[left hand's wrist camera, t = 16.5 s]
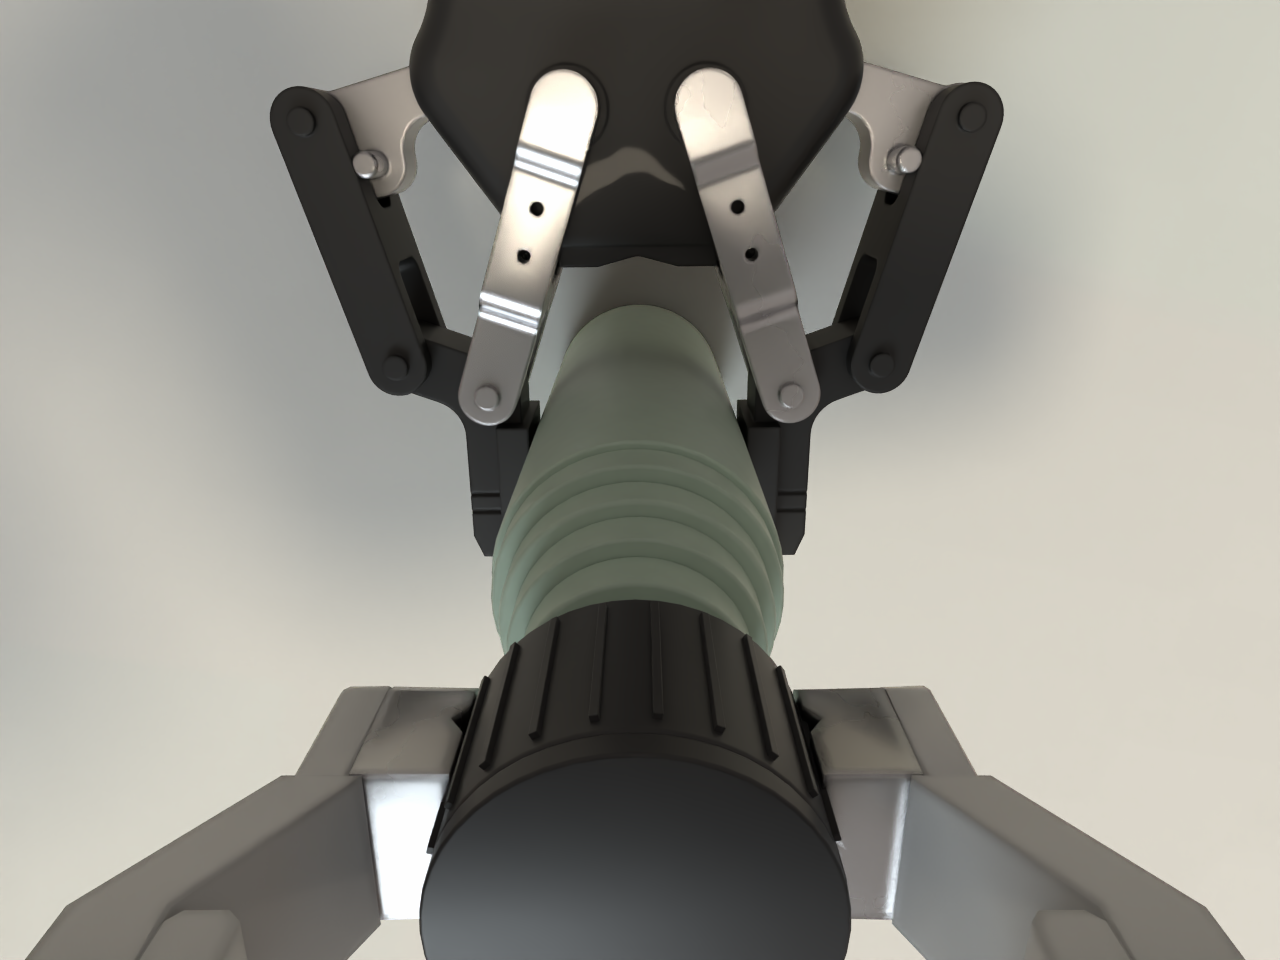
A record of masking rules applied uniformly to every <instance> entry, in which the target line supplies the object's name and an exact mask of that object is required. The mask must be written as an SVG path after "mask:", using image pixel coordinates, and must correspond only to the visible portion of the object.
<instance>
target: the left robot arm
mask: <svg viewBox="0 0 1280 960" xmlns="http://www.w3.org/2000/svg"><path fill="white" fill-rule="evenodd" d="M478 691H479V688H436V687H393V688H391V687H389V686H362V687H349V688H347V689H345V690H343V691H342V692H341V694H340V696H339V698H338V699H337V701H336V703H335V705H334V707H333V708H332V710H331V712H330V714H329V715H328V717H327V719H326V721H325V723H324V724H323V726H322V728H321V730H320V732H319V733H318V735H317V737H316V739H315V741H314V742H313V744H312V746H311V748H310V749H309V751H308V753H307V755H306V757H305V758H304V760H303V762H302V764H301V766H300V767H299V769H298V771H297V773H296V775H295V776H280V777H279V778H277V779H275V780H274V781H272V782H270V783H269V784H267V785H265V786H264V787H262V788H260V789H259V790H257V791H255V792H254V793H252V794H250V795H249V796H247V797H245V798H244V799H242V800H241V801H239V802H237V803H236V804H234V805H232V806H231V807H229V808H227V809H226V810H224V811H222V812H221V813H219V814H217V815H216V816H214V817H212V818H211V819H209V820H207V821H206V822H204V823H202V824H201V825H199V826H198V827H196V828H194V829H193V830H191V831H189V832H188V833H186V834H184V835H183V836H181V837H179V838H178V839H176V840H174V841H173V842H171V843H169V844H168V845H166V846H164V847H163V848H161V849H160V850H158V851H156V852H155V853H153V854H151V855H150V856H148V857H146V858H145V859H143V860H141V861H140V862H138V863H136V864H135V865H133V866H131V867H130V868H128V869H126V870H125V871H123V872H121V873H120V874H118V875H117V876H115V877H113V878H112V879H110V880H108V881H107V882H105V883H103V884H102V885H100V886H98V887H97V888H95V889H93V890H92V891H90V892H88V893H87V894H85V895H83V896H82V897H80V898H79V899H77V900H75V901H74V902H72V903H70V904H69V905H67V906H66V907H65V908H64V910H63V911H62V912H61V913H60V915H59V916H58V917H57V919H56V920H55V921H54V923H53V924H52V925H51V926H50V928H49V929H48V930H47V932H46V933H45V934H44V936H43V937H42V938H41V940H40V941H39V942H38V943H37V945H36V946H35V947H34V949H33V950H32V951H31V953H30V954H29V955H28V956H27V958H26V959H25V960H347V959H348V958H349V957H350V956H351V955H352V954H353V953H354V952H355V951H356V950H357V949H358V948H359V947H360V946H361V944H362V943H363V942H364V941H365V940H366V939H367V938H368V937H369V936H370V935H371V934H372V933H373V932H374V931H375V930H376V929H377V928H378V927H379V926H380V925H381V923H380V920H390V919H419V906H420V899H421V892H422V886H423V883H424V880H425V876H426V873H427V870H428V866H429V863H430V859H431V856H432V855H431V854H426V850H427V845H428V842H429V839H430V836H431V832H432V829H433V826H434V823H435V819H436V816H437V813H438V810H439V806H440V803H441V802H445V800H446V797H447V794H448V790H449V787H450V784H451V780H452V777H453V774H454V770H455V767H456V764H457V760H458V757H459V754H460V750H461V747H462V744H463V738H464V737H465V734H466V731H467V727H468V724H469V721H470V717H471V714H472V711H473V707H474V704H475V701H476V697H477V694H478ZM793 697H794V700H795V703H796V705H798V708H799V712H800V715H801V719H802V721H805V722H807V723H808V726H809V729H810V733H811V736H810V750H811V754H812V757H813V761H814V764H815V767H816V771H817V774H818V777H819V781H820V784H821V788H822V790H824V789H827V791H828V794H829V797H830V801H831V804H832V808H833V811H834V815H835V818H836V821H837V825H838V828H839V832H840V835H841V838H842V840H841V841H837V842H836V843H837V847H838V850H839V854H840V857H841V861H842V864H843V868H844V871H845V875H846V878H847V885H848V890H849V897H850V903H851V919H883V920H892V924H893V925H894V926H895V927H896V928H897V929H898V930H899V931H900V932H901V934H902V935H903V936H904V937H905V938H906V939H907V940H908V941H909V942H910V943H911V944H912V945H913V946H914V947H915V948H916V949H917V950H918V951H919V952H920V954H921V955H922V956H923V957H924V958H925V959H926V960H1245V959H1244V957H1243V956H1242V955H1241V953H1240V952H1239V951H1238V949H1237V948H1236V947H1235V945H1234V944H1233V943H1232V941H1231V940H1230V939H1229V937H1228V936H1227V935H1226V933H1225V932H1224V931H1223V929H1222V928H1221V927H1220V925H1219V924H1218V923H1217V921H1216V920H1215V919H1214V917H1213V916H1212V915H1211V913H1210V912H1209V911H1208V909H1207V908H1206V907H1205V906H1203V905H1201V904H1200V903H1198V902H1196V901H1195V900H1193V899H1192V898H1190V897H1188V896H1187V895H1185V894H1183V893H1182V892H1180V891H1178V890H1177V889H1175V888H1174V887H1172V886H1170V885H1169V884H1167V883H1165V882H1164V881H1162V880H1161V879H1159V878H1157V877H1156V876H1154V875H1152V874H1151V873H1149V872H1147V871H1146V870H1144V869H1143V868H1141V867H1139V866H1138V865H1136V864H1134V863H1133V862H1131V861H1129V860H1128V859H1126V858H1125V857H1123V856H1121V855H1120V854H1118V853H1116V852H1115V851H1113V850H1112V849H1110V848H1108V847H1107V846H1105V845H1103V844H1102V843H1100V842H1098V841H1097V840H1095V839H1094V838H1092V837H1090V836H1089V835H1087V834H1085V833H1084V832H1082V831H1080V830H1079V829H1077V828H1076V827H1074V826H1072V825H1071V824H1069V823H1067V822H1066V821H1064V820H1063V819H1061V818H1059V817H1058V816H1056V815H1054V814H1053V813H1051V812H1049V811H1048V810H1046V809H1045V808H1043V807H1041V806H1040V805H1038V804H1036V803H1035V802H1033V801H1031V800H1030V799H1028V798H1027V797H1025V796H1023V795H1022V794H1020V793H1018V792H1017V791H1015V790H1014V789H1012V788H1010V787H1009V786H1007V785H1005V784H1004V783H1002V782H1000V781H999V780H997V779H996V778H994V777H992V776H978V775H977V774H976V772H975V770H974V768H973V766H972V765H971V763H970V761H969V759H968V757H967V756H966V754H965V752H964V750H963V748H962V747H961V745H960V743H959V741H958V739H957V737H956V736H955V734H954V732H953V730H952V728H951V727H950V725H949V723H948V721H947V719H946V718H945V716H944V714H943V712H942V710H941V709H940V707H939V705H938V703H937V701H936V700H935V698H934V696H933V694H932V692H931V691H930V690H929V689H928V688H926V687H925V686H904V687H881V688H851V689H805V690H794V691H793Z"/></svg>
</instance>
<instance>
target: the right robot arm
mask: <svg viewBox="0 0 1280 960" xmlns="http://www.w3.org/2000/svg"><path fill="white" fill-rule="evenodd" d="M1003 116H1004V109H1003V103H1002V101H1001V98H1000V96H999V94H998V93H997V92H996V91H995V90H994V89H993V88H992V87H991V86H989V85H987V84H985V83H981V82H968V83H955V84H951V85H940V84H937V83H933V82H930V81H927V80H923V79H920V78H917V77H913V76H910V75H906V74H903V73H900V72H896V71H893V70H890V69H886V68H883V67H879V66H876V65H873V64H869V63H866V62H864V61H863V52H862V48H861V44H860V41H859V38H858V36H857V34H856V32H855V30H854V28H853V26H852V23H851V21H850V18H849V15H848V12H847V9H846V6H845V1H844V0H428V4H427V9H426V13H425V16H424V20H423V23H422V25H421V28H420V30H419V32H418V34H417V37H416V39H415V41H414V44H413V47H412V50H411V55H410V64H409V66H408V67H405V68H402V69H399V70H396V71H393V72H389V73H386V74H383V75H380V76H377V77H374V78H371V79H367V80H364V81H361V82H358V83H355V84H352V85H348V86H345V87H342V88H339V89H336V90H333V91H324V90H319V89H313V88H308V87H303V86H295V87H290V88H287V89H285V90H283V91H282V92H281V93H280V94H278V96H277V97H276V98H275V100H274V102H273V103H272V106H271V110H270V123H271V128H272V131H273V134H274V136H275V139H276V141H277V144H278V146H279V149H280V151H281V154H282V156H283V159H284V161H285V164H286V166H287V169H288V171H289V174H290V177H291V179H292V182H293V184H294V187H295V189H296V192H297V194H298V197H299V199H300V202H301V204H302V207H303V209H304V212H305V214H306V217H307V219H308V222H309V225H310V227H311V230H312V232H313V235H314V237H315V240H316V242H317V245H318V247H319V250H320V252H321V255H322V257H323V260H324V262H325V265H326V267H327V270H328V273H329V275H330V278H331V280H332V283H333V285H334V288H335V290H336V293H337V295H338V298H339V300H340V303H341V305H342V308H343V310H344V313H345V315H346V318H347V321H348V323H349V326H350V328H351V331H352V333H353V336H354V338H355V341H356V343H357V346H358V348H359V351H360V353H361V356H362V358H363V361H364V364H365V366H366V369H367V371H368V374H369V376H370V378H371V380H372V381H373V383H374V384H375V385H376V386H377V387H378V388H379V389H381V390H382V391H384V392H386V393H388V394H391V395H397V396H403V395H408V394H410V393H413V394H416V395H419V396H422V397H425V398H428V399H431V400H434V401H437V402H440V403H442V404H444V405H446V406H448V407H449V408H451V409H452V410H453V411H454V412H455V413H456V414H457V415H458V416H459V418H460V419H461V421H462V423H463V425H464V428H465V431H466V439H467V451H468V464H469V477H470V489H471V502H472V510H473V527H474V536H475V538H476V540H477V542H478V544H479V546H480V548H481V550H482V552H483V554H484V556H493V553H494V547H495V542H496V538H497V535H498V532H499V530H500V527H501V524H502V521H503V518H504V516H505V513H506V510H507V508H508V505H509V503H510V500H511V497H512V495H513V492H514V489H515V487H516V484H517V481H518V479H519V476H520V473H521V471H522V468H523V465H524V463H525V460H526V457H527V455H528V452H529V449H530V447H531V444H532V441H533V439H534V436H535V433H536V431H537V428H538V426H539V423H540V401H529V383H528V381H529V379H530V376H531V372H532V369H533V365H534V362H535V358H536V355H537V351H538V348H539V344H540V341H541V338H542V334H543V331H544V327H545V324H546V320H547V317H548V313H549V310H550V307H551V304H552V301H553V299H554V295H555V292H556V289H557V286H558V283H559V279H560V276H561V272H562V269H563V267H599V266H603V265H606V264H610V263H613V262H617V261H620V260H624V259H628V258H631V257H635V256H641V257H645V258H649V259H653V260H657V261H660V262H664V263H668V264H672V265H675V266H714V267H715V270H716V274H717V277H718V280H719V283H720V286H721V289H722V292H723V295H724V298H725V301H726V304H727V307H728V310H729V313H730V316H731V319H732V322H733V326H734V329H735V332H736V335H737V339H738V342H739V345H740V348H741V351H742V355H743V358H744V361H745V364H746V368H747V371H748V391H747V400H737V422H738V425H739V428H740V430H741V433H742V436H743V439H744V441H745V444H746V447H747V450H748V453H749V455H750V458H751V461H752V464H753V466H754V469H755V472H756V475H757V478H758V480H759V483H760V486H761V489H762V491H763V494H764V497H765V500H766V502H767V505H768V508H769V511H770V514H771V516H772V519H773V522H774V525H775V527H776V530H777V534H778V537H779V541H780V545H781V549H782V555H794V554H795V552H796V550H797V548H798V546H799V544H800V542H801V540H802V538H803V536H804V534H805V517H806V500H807V484H808V467H809V450H810V434H811V428H812V424H813V422H814V420H815V418H816V416H817V415H818V413H819V412H820V411H821V410H822V409H823V408H824V407H826V406H827V405H828V404H830V403H832V402H834V401H836V400H838V399H841V398H844V397H847V396H850V395H852V394H855V393H858V392H861V391H864V390H866V391H868V392H871V393H885V392H888V391H891V390H893V389H895V388H896V387H898V386H899V385H900V384H901V383H902V382H903V381H904V380H905V378H906V377H907V375H908V373H909V370H910V368H911V365H912V362H913V360H914V357H915V354H916V352H917V349H918V346H919V344H920V341H921V339H922V336H923V333H924V331H925V328H926V325H927V323H928V320H929V317H930V315H931V312H932V309H933V307H934V304H935V301H936V299H937V296H938V293H939V291H940V288H941V285H942V283H943V280H944V277H945V275H946V272H947V269H948V267H949V264H950V261H951V259H952V256H953V253H954V251H955V248H956V245H957V243H958V240H959V237H960V235H961V232H962V229H963V227H964V224H965V221H966V219H967V216H968V213H969V211H970V208H971V205H972V203H973V200H974V197H975V195H976V192H977V189H978V187H979V184H980V181H981V179H982V176H983V174H984V171H985V168H986V166H987V163H988V160H989V158H990V155H991V152H992V150H993V147H994V144H995V142H996V139H997V136H998V134H999V131H1000V128H1001V125H1002V122H1003ZM844 117H846V118H847V119H849V120H850V121H851V122H852V123H853V124H854V126H855V127H856V129H857V131H858V134H859V138H860V151H859V156H858V167H859V171H860V174H861V176H862V178H863V179H864V181H865V182H866V183H867V184H868V185H870V186H871V187H873V188H875V189H878V190H877V193H876V196H875V199H874V202H873V205H872V208H871V211H870V214H869V217H868V220H867V223H866V226H865V229H864V232H863V235H862V237H861V240H860V243H859V246H858V249H857V252H856V255H855V258H854V261H853V264H852V267H851V270H850V273H849V276H848V279H847V282H846V285H845V288H844V291H843V294H842V297H841V300H840V302H839V305H838V308H837V311H836V314H835V317H834V320H833V323H832V325H831V326H829V327H826V328H823V329H820V330H818V331H815V332H812V333H809V334H807V335H805V332H804V329H803V325H802V322H801V318H800V315H799V311H798V300H797V294H796V290H795V286H794V282H793V279H792V275H791V272H790V268H789V265H788V261H787V257H786V254H785V250H784V247H783V243H782V240H781V236H780V233H779V229H778V225H777V222H776V218H775V215H774V212H775V211H776V210H777V208H778V207H779V206H780V204H781V203H782V201H783V200H784V199H785V197H786V196H787V195H788V193H789V192H790V191H791V189H792V188H793V186H794V185H795V184H796V182H797V181H798V180H799V178H800V177H801V176H802V174H803V173H804V171H805V170H806V169H807V167H808V166H809V165H810V163H811V162H812V161H813V159H814V158H815V156H816V155H817V154H818V152H819V151H820V150H821V148H822V147H823V146H824V144H825V143H826V142H827V140H828V139H829V137H830V136H831V135H832V133H833V132H834V131H835V129H836V128H837V127H838V125H839V124H840V122H841V121H842V120H843V118H844ZM428 121H430V122H431V124H432V125H433V126H434V128H435V129H436V130H437V132H438V133H439V134H440V135H441V137H442V138H443V139H444V141H445V142H446V143H447V145H448V146H449V147H450V149H451V150H452V151H453V153H454V154H455V155H456V156H457V158H458V159H459V160H460V162H461V163H462V164H463V166H464V167H465V168H466V170H467V171H468V172H469V174H470V175H471V176H472V177H473V179H474V180H475V181H476V183H477V184H478V185H479V187H480V188H481V189H482V191H483V192H484V193H485V195H486V196H487V197H488V199H489V200H490V201H491V202H492V204H493V205H494V206H495V208H496V209H497V210H498V212H499V213H500V214H501V217H500V221H499V225H498V229H497V232H496V236H495V240H494V244H493V248H492V252H491V255H490V259H489V263H488V267H487V271H486V275H485V278H484V282H483V286H482V290H481V295H480V300H479V313H478V318H477V322H476V325H475V329H474V333H473V337H469V336H466V335H463V334H460V333H457V332H454V331H452V330H449V329H446V326H445V323H444V320H443V317H442V315H441V312H440V309H439V306H438V304H437V301H436V298H435V295H434V292H433V290H432V287H431V284H430V281H429V278H428V276H427V273H426V270H425V267H424V264H423V262H422V259H421V256H420V253H419V250H418V248H417V245H416V242H415V239H414V237H413V234H412V231H411V228H410V225H409V223H408V220H407V217H406V214H405V211H404V209H403V206H402V203H401V200H400V197H399V195H398V194H399V193H401V192H403V191H405V190H406V189H407V188H409V187H410V186H411V184H412V183H413V181H414V179H415V177H416V173H417V160H416V155H415V140H416V137H417V134H418V132H419V130H420V129H421V128H422V126H423V125H424V124H425V123H427V122H428Z"/></svg>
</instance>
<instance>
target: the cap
mask: <svg viewBox="0 0 1280 960" xmlns="http://www.w3.org/2000/svg"><path fill="white" fill-rule="evenodd" d="M810 736H811V733H810V729H809V726H808V723H807V722H805V721H802V719H801V715H800V712H799V708H798V705H796V703H795V700H794V697H793V694H792V691H791V689H790V687H789V685H788V682H787V678H786V675H785V671H784V669H783V668H782V667H781V666H778V667H777V666H776V664H775V663H774V661H773V660H772V659H771V658H770V657H769V656H768V655H767V654H766V652H765V651H764V650H763V649H762V648H761V647H760V646H759V645H758V644H757V643H755V642H754V641H753V640H752V637H751V636H749V635H748V634H744V633H743V632H741V631H740V630H738V629H737V628H735V627H733V626H732V625H730V624H728V623H727V622H725V621H723V620H721V619H719V618H717V617H715V616H712V615H710V614H708V613H706V612H703V611H701V610H697V609H694V608H691V607H687V606H684V605H681V604H675V603H669V602H664V601H657V600H639V599H633V600H617V601H609V602H603V603H598V604H592V605H588V606H585V607H582V608H579V609H575V610H572V611H569V612H567V613H565V614H562V615H560V616H558V617H557V616H556V617H554V618H552V619H550V620H549V621H547V622H546V623H544V624H543V625H541V626H539V627H538V628H536V629H534V630H533V631H531V632H530V633H528V634H527V635H526V636H525V637H523V638H522V639H521V640H520V641H518V642H517V643H516V642H514V643H513V644H512V645H511V646H510V648H509V651H508V652H507V653H506V654H505V655H504V656H503V657H502V658H501V659H500V661H499V662H498V664H497V665H496V666H495V668H494V669H493V671H492V672H491V674H490V675H489V677H487V676H484V677H483V679H482V681H481V684H480V687H479V691H478V694H477V697H476V701H475V704H474V707H473V711H472V714H471V717H470V721H469V724H468V727H467V731H466V734H465V737H464V738H463V744H462V747H461V750H460V754H459V757H458V760H457V764H456V767H455V770H454V774H453V777H452V780H451V784H450V787H449V790H448V794H447V797H446V800H445V802H441V803H440V806H439V810H438V813H437V816H436V819H435V823H434V826H433V829H432V832H431V836H430V839H429V842H428V845H427V850H426V854H431V855H432V856H431V859H430V863H429V866H428V870H427V873H426V876H425V880H424V883H423V886H422V892H421V899H420V906H419V925H420V935H421V940H422V945H423V950H424V955H425V957H426V960H844V959H845V956H846V953H847V949H848V943H849V938H850V933H851V903H850V897H849V890H848V885H847V878H846V875H845V871H844V868H843V864H842V861H841V857H840V854H839V850H838V847H837V843H836V842H837V841H841V840H842V838H841V835H840V832H839V828H838V825H837V821H836V818H835V815H834V811H833V808H832V804H831V801H830V797H829V794H828V791H827V789H824V790H822V788H821V784H820V781H819V777H818V774H817V771H816V767H815V764H814V761H813V757H812V754H811V750H810Z"/></svg>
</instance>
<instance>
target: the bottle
mask: <svg viewBox="0 0 1280 960" xmlns="http://www.w3.org/2000/svg"><path fill="white" fill-rule="evenodd" d="M783 566H784V565H783V557H782V549H781V545H780V541H779V537H778V534H777V530H776V527H775V525H774V522H773V519H772V516H771V514H770V511H769V508H768V505H767V502H766V500H765V497H764V494H763V491H762V489H761V486H760V483H759V480H758V478H757V475H756V472H755V469H754V466H753V464H752V461H751V458H750V455H749V453H748V450H747V447H746V444H745V441H744V439H743V436H742V433H741V430H740V428H739V425H738V422H737V419H736V417H735V414H734V411H733V408H732V405H731V403H730V400H729V397H728V394H727V392H726V389H725V386H724V383H723V380H722V378H721V375H720V372H719V369H718V367H717V364H716V361H715V358H714V356H713V353H712V351H711V349H710V347H709V345H708V343H707V342H706V340H705V338H704V337H703V336H702V335H701V333H700V332H699V331H698V330H697V329H696V328H695V327H694V326H693V325H692V324H691V323H690V322H688V321H687V320H686V319H684V318H683V317H681V316H679V315H678V314H676V313H674V312H672V311H669V310H666V309H664V308H660V307H656V306H651V305H628V306H622V307H618V308H615V309H612V310H609V311H607V312H605V313H602V314H600V315H599V316H597V317H596V318H594V319H592V320H591V321H590V322H589V323H588V324H586V325H585V326H584V327H583V328H582V329H581V330H580V331H579V332H578V333H577V335H576V336H575V338H574V339H573V340H572V342H571V344H570V345H569V347H568V349H567V351H566V354H565V356H564V359H563V362H562V364H561V367H560V370H559V372H558V375H557V378H556V380H555V383H554V386H553V388H552V391H551V394H550V396H549V399H548V402H547V404H546V407H545V410H544V412H543V415H542V418H541V420H540V423H539V426H538V428H537V431H536V433H535V436H534V439H533V441H532V444H531V447H530V449H529V452H528V455H527V457H526V460H525V463H524V465H523V468H522V471H521V473H520V476H519V479H518V481H517V484H516V487H515V489H514V492H513V495H512V497H511V500H510V503H509V505H508V508H507V510H506V513H505V516H504V518H503V521H502V524H501V527H500V530H499V532H498V535H497V538H496V542H495V547H494V553H493V562H492V592H491V599H492V609H493V616H494V620H495V624H496V628H497V631H498V634H499V636H500V640H501V644H502V648H503V652H504V655H505V654H506V653H507V652H508V651H509V648H510V646H511V645H512V644H513V643H514V642H516V643H517V642H518V641H520V640H521V639H522V638H523V637H525V636H526V635H527V634H528V633H530V632H531V631H533V630H534V629H536V628H538V627H539V626H541V625H543V624H544V623H546V622H547V621H549V620H550V619H552V618H554V617H556V616H557V617H558V616H560V615H562V614H565V613H567V612H569V611H572V610H575V609H579V608H582V607H585V606H588V605H592V604H598V603H603V602H609V601H617V600H633V599H639V600H657V601H664V602H669V603H675V604H681V605H684V606H687V607H691V608H694V609H697V610H701V611H703V612H706V613H708V614H710V615H712V616H715V617H717V618H719V619H721V620H723V621H725V622H727V623H728V624H730V625H732V626H733V627H735V628H737V629H738V630H740V631H741V632H743V633H744V634H748V635H749V636H751V637H752V640H753V641H754V642H755V643H757V644H758V645H759V646H760V647H761V648H762V649H763V650H764V651H765V652H766V654H767V655H768V656H769V657H770V654H771V651H772V648H773V644H774V640H775V638H776V635H777V632H778V629H779V625H780V622H781V617H782V611H783V602H784V586H783Z"/></svg>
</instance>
